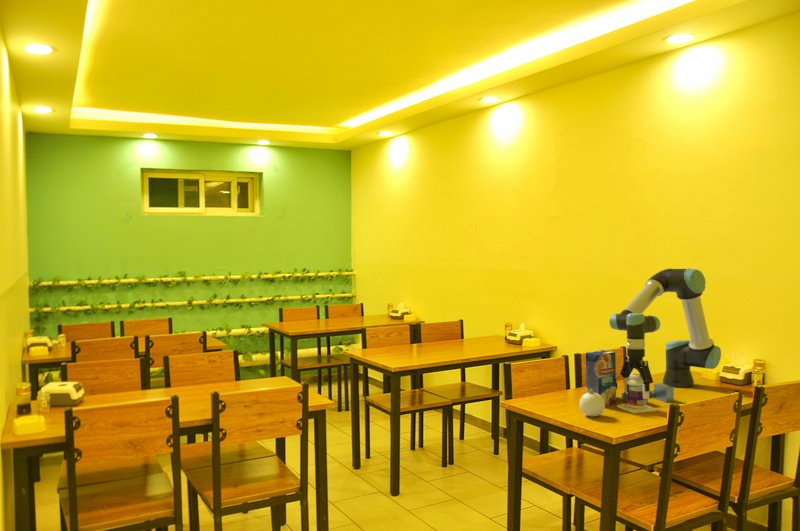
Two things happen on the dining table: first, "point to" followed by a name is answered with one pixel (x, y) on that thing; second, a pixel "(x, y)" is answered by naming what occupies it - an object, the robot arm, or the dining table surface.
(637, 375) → the pill bottle
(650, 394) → the vise
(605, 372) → the cereal box
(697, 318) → the robot arm
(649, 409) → the trivet
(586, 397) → the ornament
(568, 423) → the dining table surface
